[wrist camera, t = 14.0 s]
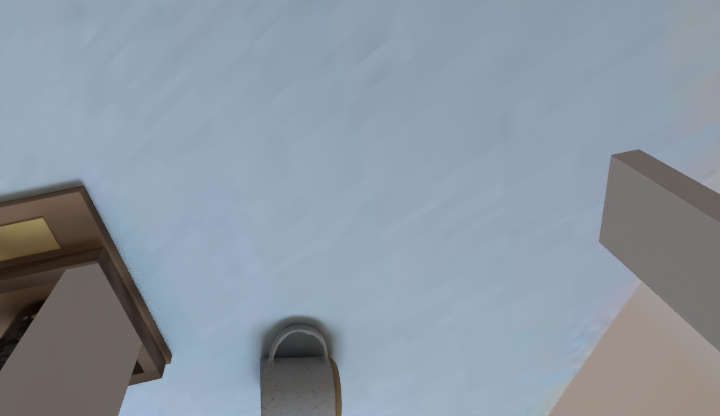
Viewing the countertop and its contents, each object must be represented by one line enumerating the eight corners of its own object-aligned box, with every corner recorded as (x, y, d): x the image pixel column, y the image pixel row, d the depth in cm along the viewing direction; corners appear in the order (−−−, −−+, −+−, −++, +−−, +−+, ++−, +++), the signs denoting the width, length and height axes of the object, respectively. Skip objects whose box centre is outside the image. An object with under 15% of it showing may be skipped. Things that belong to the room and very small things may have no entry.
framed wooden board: (-109, 225, 36) (-139, 246, 34) (83, 185, 37) (69, 203, 35) (23, 389, 46) (8, 415, 44) (172, 355, 47) (166, 379, 45)
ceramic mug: (333, 387, 54) (341, 448, 47) (261, 393, 52) (259, 457, 46) (336, 317, 49) (346, 374, 42) (257, 321, 47) (254, 381, 41)
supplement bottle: (-1, 328, 41) (-92, 455, 31) (46, 284, 40) (-34, 401, 30) (70, 363, 45) (9, 489, 34) (115, 323, 43) (65, 441, 33)
